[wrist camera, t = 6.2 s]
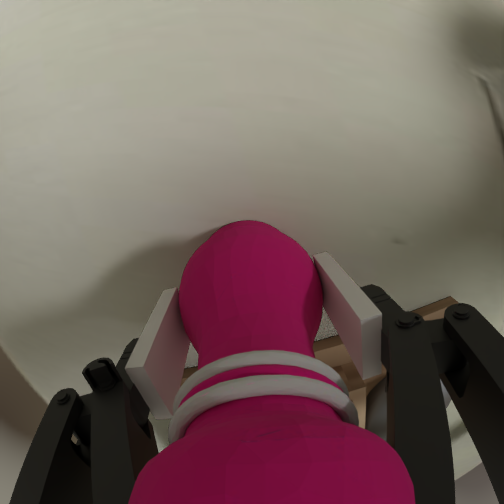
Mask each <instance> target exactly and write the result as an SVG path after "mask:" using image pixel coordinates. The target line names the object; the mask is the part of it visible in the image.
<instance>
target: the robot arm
mask: <svg viewBox="0 0 504 504" xmlns="http://www.w3.org/2000/svg"><path fill="white" fill-rule="evenodd" d="M313 259H314V265H315V268H316V270H317V272H318V275H319V278H320V280H321V285H322V291H323V307H324V309H325V311H326V312H327V314H328V316H329V318H330V320H331V322H332V323H333V325H334V327H335V329H336V331H337V333H338V334H339V336H340V338H341V340H342V342H343V344H344V346H345V347H346V349H347V351H348V353H349V355H350V357H351V359H352V361H353V363H354V364H355V366H356V368H357V370H358V372H359V374H360V376H361V378H362V380H365V379H368V378H371V377H374V376H376V375H379V374H381V371H382V364H383V365H384V367H385V368H386V386H385V392H386V393H387V437H386V442H387V443H388V444H389V445H390V446H391V447H392V448H393V449H394V450H395V451H396V452H397V453H398V455H399V456H400V457H401V459H402V461H403V463H404V465H405V466H406V469H407V471H408V473H409V476H410V478H411V480H412V483H413V486H414V495H415V504H455V483H454V468H453V457H452V448H451V439H450V432H449V425H448V419H447V413H446V407H445V402H444V397H443V392H442V387H441V382H440V379H441V381H442V383H443V385H444V387H445V388H446V390H447V392H448V394H449V396H450V397H451V399H452V401H453V403H454V405H455V407H456V409H457V410H458V412H459V414H460V416H461V418H462V420H463V422H464V424H465V426H466V428H467V430H468V432H469V434H470V436H471V438H472V440H473V442H474V444H475V447H476V449H477V451H478V453H479V455H480V457H481V460H482V462H483V464H484V466H485V469H486V471H487V473H488V476H489V478H490V481H491V483H492V486H493V488H494V491H495V493H496V496H497V498H498V501H499V504H504V337H503V336H502V335H501V334H500V333H499V332H498V331H497V330H496V329H495V328H494V327H493V326H492V325H491V324H490V323H489V322H488V321H487V320H486V319H485V318H484V317H483V316H482V315H481V314H480V313H479V312H478V311H477V310H476V309H475V308H474V307H472V306H471V305H468V304H464V303H458V304H453V305H451V306H449V307H447V309H446V310H445V313H444V318H442V319H435V320H426V321H424V319H423V317H422V316H421V315H419V314H417V313H414V312H405V311H404V310H403V309H402V308H401V307H400V306H399V305H398V304H397V303H396V302H395V301H394V300H393V299H391V297H390V296H389V295H388V294H386V292H385V291H384V290H383V289H382V288H380V287H378V286H375V285H373V284H371V285H367V286H364V287H359V286H358V285H357V284H356V283H355V282H354V281H353V280H352V279H351V277H350V276H349V275H348V274H347V273H346V272H345V271H344V270H343V269H342V267H341V266H340V265H339V264H338V263H337V262H336V261H335V260H334V259H333V258H332V257H331V255H330V254H329V253H328V252H323V253H319V254H315V255H313ZM189 345H190V339H189V337H188V336H187V334H186V332H185V329H184V326H183V322H182V318H181V313H180V307H179V292H178V289H177V287H175V288H171V289H166V290H163V292H162V294H161V296H160V298H159V300H158V302H157V304H156V306H155V308H154V310H153V312H152V313H151V315H150V317H149V319H148V321H147V323H146V325H145V327H144V329H143V331H142V333H141V335H140V337H139V338H136V339H133V340H132V341H131V342H130V343H129V344H128V345H127V346H126V348H125V350H124V352H123V354H122V356H121V358H120V360H119V362H118V363H117V365H116V367H115V365H114V363H113V361H112V360H111V359H109V358H100V359H97V360H94V361H92V362H91V363H89V364H88V365H87V366H86V367H85V368H84V369H83V372H82V374H83V376H84V377H85V379H86V380H87V382H88V384H89V385H90V387H91V388H92V390H93V393H90V394H87V395H83V396H79V395H78V393H77V392H76V390H74V389H73V388H67V389H63V390H61V391H59V392H57V394H55V395H54V397H53V398H52V400H51V402H50V404H49V406H48V408H47V410H46V412H45V414H44V417H43V418H42V421H41V423H40V425H39V427H38V429H37V432H36V434H35V436H34V439H33V441H32V443H31V446H30V448H29V451H28V453H27V456H26V458H25V461H24V463H23V466H22V468H21V471H20V474H19V477H18V479H17V482H16V485H15V488H14V491H13V494H12V497H11V500H10V503H9V504H128V503H129V499H130V496H131V493H132V490H133V487H134V485H135V482H136V480H137V477H138V475H139V473H140V472H141V470H142V469H143V468H144V466H145V465H146V464H147V462H148V461H149V460H151V459H152V458H153V457H155V456H156V455H157V454H159V452H158V448H157V444H156V440H155V435H154V431H153V426H152V424H151V422H150V421H149V419H148V415H149V412H150V411H151V413H152V414H153V416H154V417H155V419H156V420H160V419H171V418H172V416H173V404H174V400H175V396H176V395H177V393H178V391H179V389H180V385H181V380H182V376H183V371H184V367H185V362H186V358H187V353H188V349H189ZM72 434H73V435H74V436H75V437H76V438H77V439H78V441H77V443H76V444H74V443H73V442H72V440H71V437H72Z"/></svg>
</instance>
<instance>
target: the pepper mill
mask: <svg viewBox="0 0 504 504" xmlns="http://www.w3.org/2000/svg"><path fill="white" fill-rule="evenodd" d="M179 307H180V313H181V318H182V322H183V326H184V329H185V332H186V334H187V336H188V337H189V339H190V341H191V343H192V345H193V346H194V348H195V349H196V351H197V353H198V354H199V357H198V371H196V372H195V373H193V374H192V375H191V376H190V377H189V378H188V379H187V380H186V381H185V382H184V383H183V385H182V386H181V387H180V389H179V391H178V393H177V395H176V396H175V400H174V404H173V416H172V418H171V421H170V424H169V427H168V439H169V443H170V445H169V446H168V447H166V448H165V449H164V450H163V451H161V452H160V453H159V454H157V455H156V456H155V457H153V458H152V459H151V460H149V461H148V462H147V464H146V465H145V466H144V468H143V469H142V470H141V472H140V473H139V475H138V477H137V480H136V482H135V485H134V487H133V490H132V493H131V496H130V499H129V503H128V504H415V495H414V486H413V483H412V480H411V478H410V476H409V473H408V471H407V469H406V466H405V465H404V463H403V461H402V459H401V457H400V456H399V455H398V453H397V452H396V451H395V450H394V449H393V448H392V447H391V446H390V445H389V444H388V443H387V442H386V441H385V440H383V439H382V438H380V437H379V436H377V435H376V434H374V433H372V432H370V431H368V430H366V429H363V428H361V427H359V418H358V411H357V409H356V407H355V405H354V403H353V402H352V401H351V400H350V399H349V393H348V389H347V386H346V384H345V383H344V381H343V380H342V378H341V377H340V375H339V374H338V373H337V372H336V371H335V370H334V369H332V368H331V367H330V366H328V365H327V364H325V363H323V362H322V361H320V360H317V359H316V358H315V355H314V351H313V343H314V339H315V337H316V334H317V331H318V328H319V326H320V322H321V318H322V307H323V291H322V285H321V280H320V278H319V275H318V272H317V270H316V268H315V265H314V263H313V261H312V260H311V258H310V257H309V255H308V254H307V252H306V251H305V250H304V249H303V248H302V247H301V246H300V245H299V244H298V243H297V242H296V241H294V240H293V239H291V238H290V237H288V236H286V235H285V234H283V233H281V232H280V231H279V230H277V229H276V228H274V227H272V226H270V225H268V224H266V223H263V222H259V221H251V220H247V221H238V222H234V223H230V224H228V225H226V226H224V227H222V228H221V229H219V230H218V231H216V232H215V233H214V234H213V235H212V236H211V237H210V238H209V239H208V240H207V241H206V242H205V243H203V244H202V245H201V246H200V247H199V248H198V249H197V250H196V251H195V253H194V254H193V255H192V257H191V258H190V259H189V261H188V263H187V265H186V267H185V269H184V272H183V276H182V279H181V284H180V289H179Z"/></svg>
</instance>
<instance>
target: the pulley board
mask: <svg viewBox="0 0 504 504" xmlns="http://www.w3.org/2000/svg"><path fill="white" fill-rule="evenodd" d="M453 304H458V302H457V301H456V300H455V299H453V298H452V297H451V296H450V297H447V298H445V299H442V300H440V301H437V302H435V303H432V304H430V305H427V306H424V307H422V308H419V309H417V310H414V311H411V312H414V313H417V314H419V315H421V316H422V317H423V319H424V321H426V320H435V319H442V318H444V313H445V310H446V309H447V307H449V306H451V305H453ZM313 351H314V355H315V358H316V359H317V360H320V361H322V362H323V363H325V364H327V365H328V366H330V367H331V368H332V369H334V370H335V371H336V372H337V373H338V374H339V375H340V377H341V378H342V380H343V381H344V383H345V384H346V386H347V389H348V393H349V399H350V400H351V401H352V402H353V403H354V405H355V407H356V409H357V411H358V418H359V427H361V428H363V429H366V430H368V431H370V432H372V433H374V434H376V435H377V436H379V437H380V438H382V439H383V440H385V441H386V437H387V393H386V392H385V386H386V368H385V367H384V365H383V364H382V371H381V374H379V375H376V376H374V377H371V378H368V379H365V380H362V378H361V376H360V374H359V372H358V370H357V368H356V366H355V364H354V363H353V361H352V359H351V357H350V355H349V353H348V351H347V349H346V347H345V346H344V344H343V342H342V340H341V338H340V336H339V335H337V336H334V337H330V338H327V339H323V340H319V341H316V342H314V343H313ZM196 371H198V367H192V368H186V369H184V371H183V376H182V380H181V385H180V387H181V386H182V385H183V383H184V382H185V381H186V380H187V379H188V378H189V377H190V376H191V375H192V374H193V373H195V372H196ZM440 382H441V387H442V392H443V397H444V402H445V407H446V408H447V406H448V405H449V403H450V401H451V397H450V396H449V394H448V392H447V390H446V388H445V387H444V385H443V383H442V381H441V379H440Z"/></svg>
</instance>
